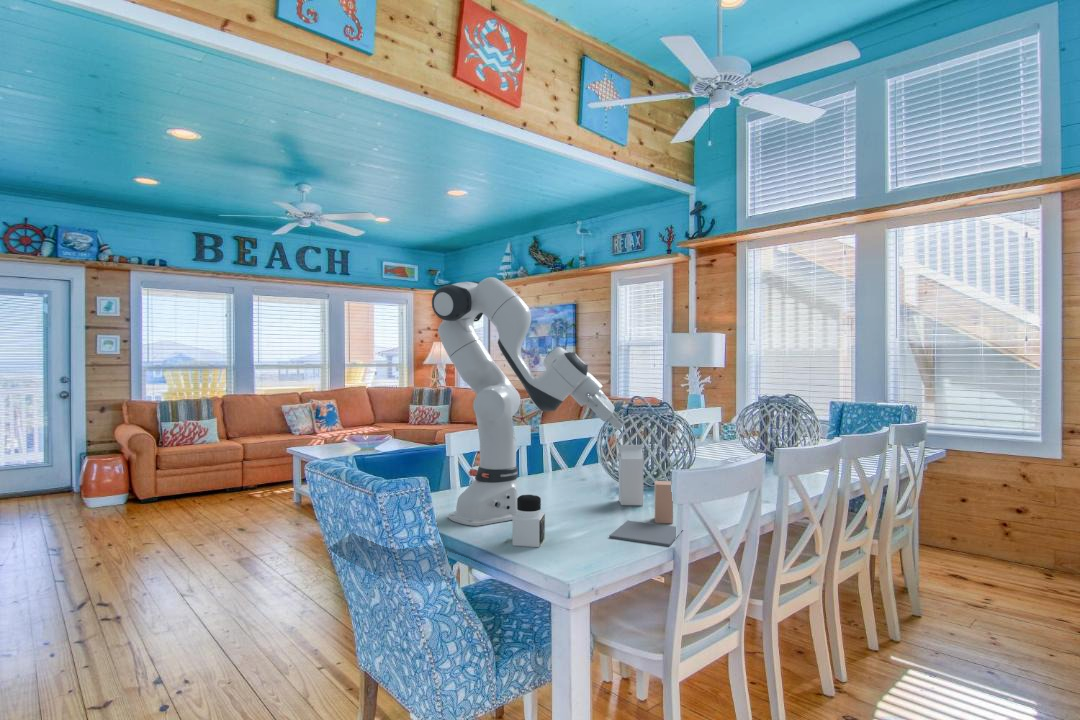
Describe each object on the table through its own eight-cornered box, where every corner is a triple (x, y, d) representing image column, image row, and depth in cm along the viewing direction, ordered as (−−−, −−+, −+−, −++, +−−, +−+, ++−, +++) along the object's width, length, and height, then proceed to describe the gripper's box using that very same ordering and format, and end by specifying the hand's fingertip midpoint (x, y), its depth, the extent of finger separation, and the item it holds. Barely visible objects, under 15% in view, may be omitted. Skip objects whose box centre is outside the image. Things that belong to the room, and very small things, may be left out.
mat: (609, 537, 156) (609, 535, 156) (627, 522, 170) (627, 520, 170) (669, 546, 149) (669, 544, 149) (683, 529, 163) (683, 527, 163)
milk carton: (643, 505, 189) (643, 446, 189) (621, 505, 189) (621, 446, 189) (640, 500, 196) (640, 443, 196) (618, 500, 196) (618, 443, 196)
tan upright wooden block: (655, 522, 170) (655, 484, 170) (654, 517, 175) (654, 480, 175) (672, 523, 169) (673, 485, 169) (671, 518, 174) (671, 481, 174)
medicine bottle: (540, 547, 147) (540, 499, 147) (512, 546, 149) (512, 498, 149) (544, 539, 154) (545, 493, 154) (518, 537, 156) (518, 492, 156)
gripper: (593, 386, 165) (628, 422, 163) (597, 383, 185) (629, 415, 183) (577, 402, 165) (612, 438, 164) (583, 397, 186) (614, 429, 184)
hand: (621, 426), depth 174 cm, fingers open, 8 cm apart
